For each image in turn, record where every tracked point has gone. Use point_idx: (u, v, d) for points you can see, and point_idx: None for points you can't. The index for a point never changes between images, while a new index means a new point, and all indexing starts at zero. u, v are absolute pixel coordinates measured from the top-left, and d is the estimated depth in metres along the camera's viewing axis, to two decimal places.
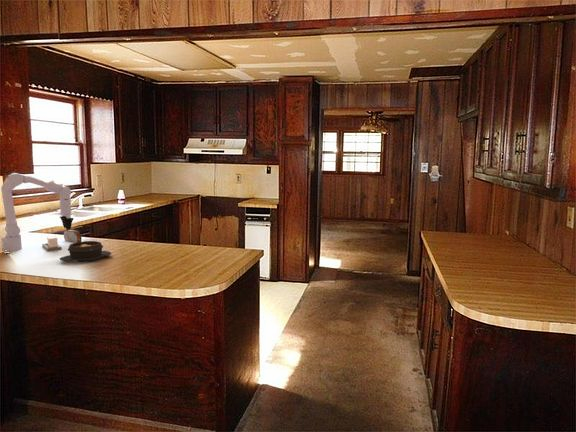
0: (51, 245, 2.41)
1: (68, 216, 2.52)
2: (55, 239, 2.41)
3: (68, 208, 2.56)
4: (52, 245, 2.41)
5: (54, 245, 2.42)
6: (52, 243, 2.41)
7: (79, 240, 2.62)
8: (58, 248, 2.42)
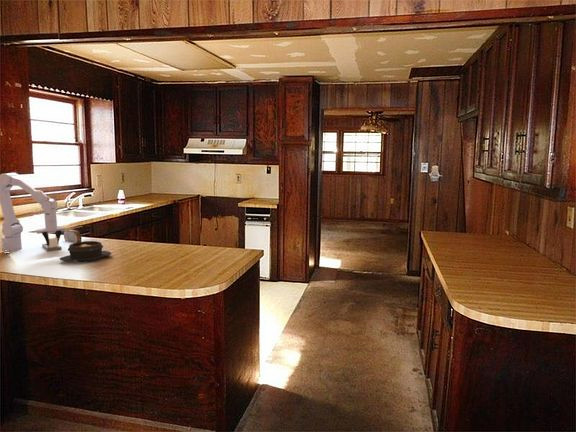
0: (51, 245, 2.41)
1: None
2: (55, 239, 2.41)
3: (46, 223, 2.39)
4: (52, 245, 2.41)
5: (54, 245, 2.42)
6: (52, 243, 2.41)
7: (79, 240, 2.62)
8: (58, 248, 2.42)
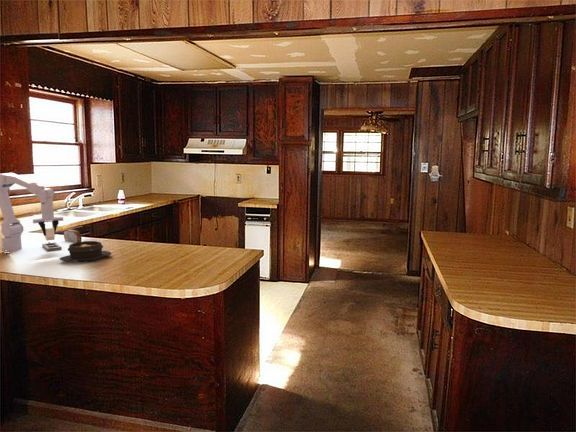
0: (48, 235, 2.36)
1: (33, 221, 2.33)
2: (52, 229, 2.37)
3: (42, 213, 2.34)
4: (49, 235, 2.36)
5: (51, 235, 2.37)
6: (48, 233, 2.36)
7: (79, 240, 2.62)
8: (58, 248, 2.42)
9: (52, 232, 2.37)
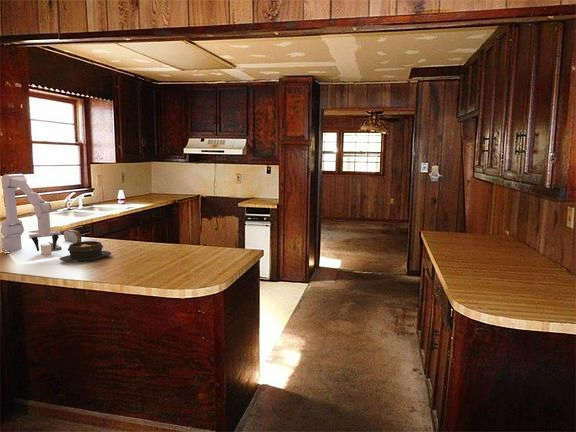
0: (44, 252, 2.30)
1: (29, 236, 2.27)
2: (49, 246, 2.31)
3: (39, 228, 2.29)
4: (45, 252, 2.31)
5: (48, 252, 2.31)
6: (45, 250, 2.30)
7: (79, 240, 2.62)
8: (58, 248, 2.42)
9: (49, 249, 2.32)
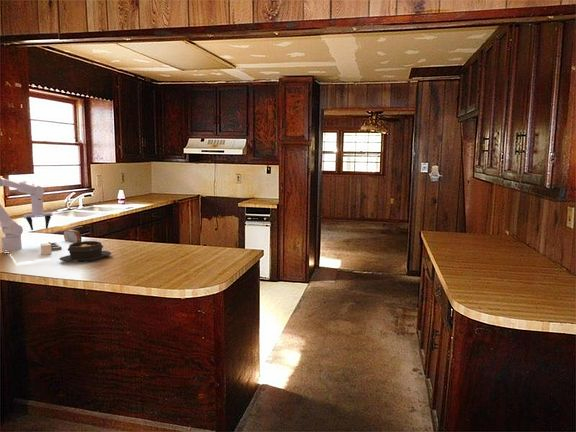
0: (44, 252, 2.30)
1: None
2: (49, 246, 2.31)
3: (32, 208, 2.51)
4: (45, 252, 2.31)
5: (48, 252, 2.31)
6: (45, 250, 2.30)
7: (79, 240, 2.62)
8: (58, 248, 2.42)
9: (49, 249, 2.32)
